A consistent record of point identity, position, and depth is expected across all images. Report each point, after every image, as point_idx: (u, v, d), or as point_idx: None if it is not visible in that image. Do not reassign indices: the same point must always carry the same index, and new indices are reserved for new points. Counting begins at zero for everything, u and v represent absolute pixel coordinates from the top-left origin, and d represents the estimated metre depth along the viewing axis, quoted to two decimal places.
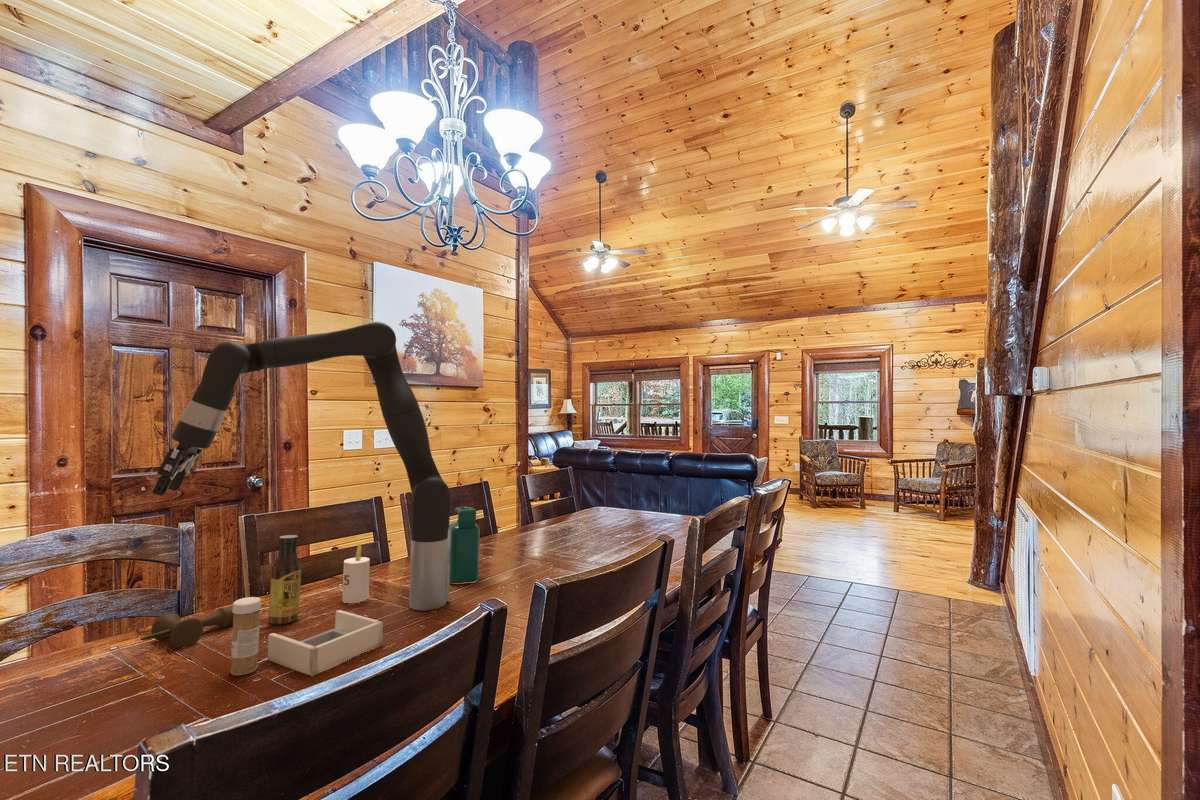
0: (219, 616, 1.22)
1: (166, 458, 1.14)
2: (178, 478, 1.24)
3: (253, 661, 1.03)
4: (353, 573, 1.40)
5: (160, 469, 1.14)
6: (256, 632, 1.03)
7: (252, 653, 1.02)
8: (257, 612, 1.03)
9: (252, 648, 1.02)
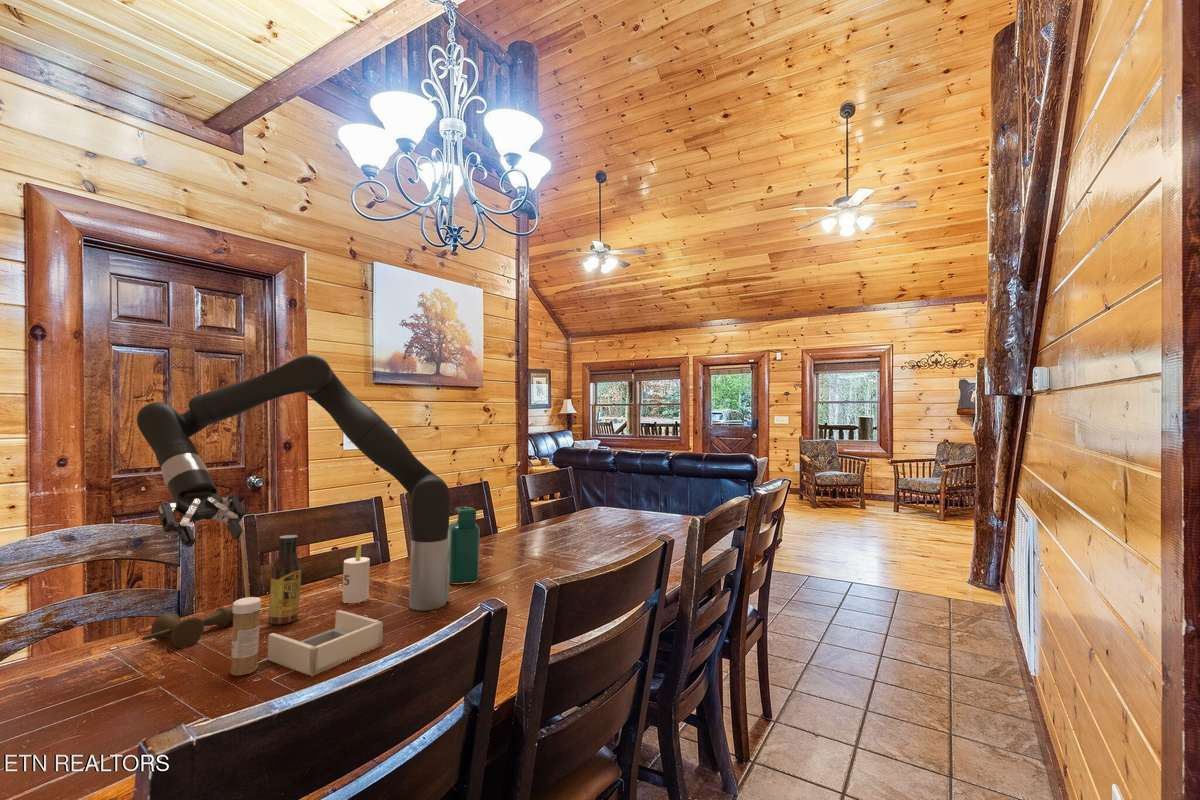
0: (219, 615, 1.22)
1: (160, 517, 1.06)
2: (231, 526, 1.14)
3: (253, 661, 1.03)
4: (353, 573, 1.40)
5: (163, 527, 1.05)
6: (256, 632, 1.03)
7: (252, 653, 1.02)
8: (257, 612, 1.03)
9: (252, 648, 1.02)
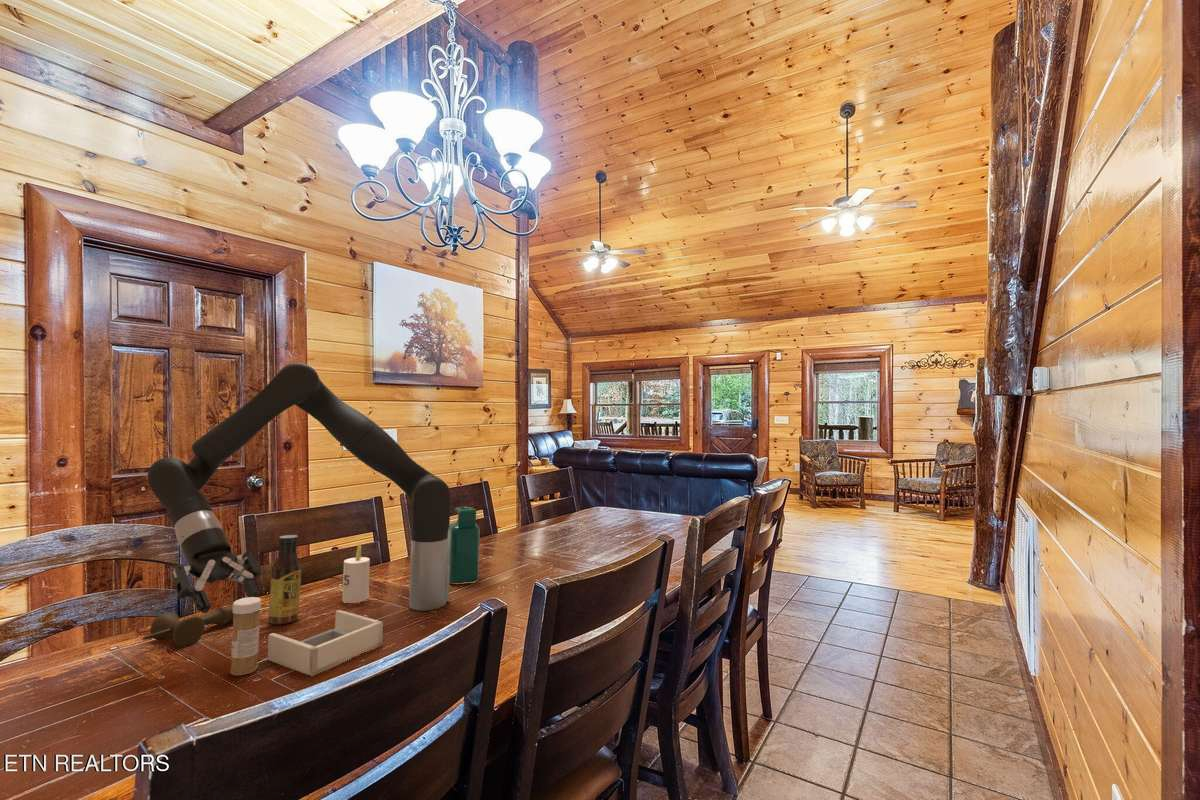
0: (218, 615, 1.23)
1: (174, 582, 1.03)
2: (246, 586, 1.10)
3: (253, 661, 1.03)
4: (353, 573, 1.40)
5: (178, 593, 1.02)
6: (256, 632, 1.03)
7: (252, 653, 1.02)
8: (257, 612, 1.03)
9: (252, 648, 1.02)
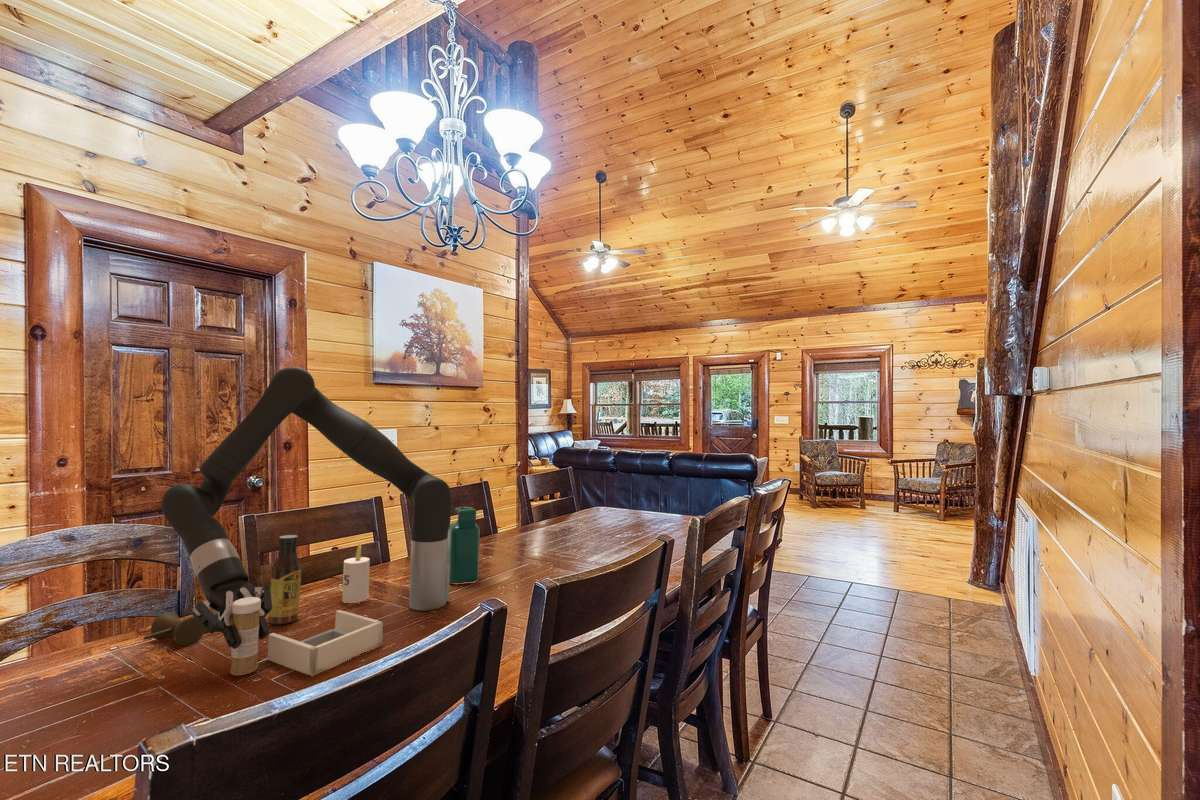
0: None
1: (198, 619, 1.00)
2: None
3: (253, 661, 1.03)
4: (353, 573, 1.40)
5: (207, 629, 1.00)
6: (256, 632, 1.03)
7: (252, 653, 1.02)
8: (257, 612, 1.03)
9: (252, 648, 1.02)
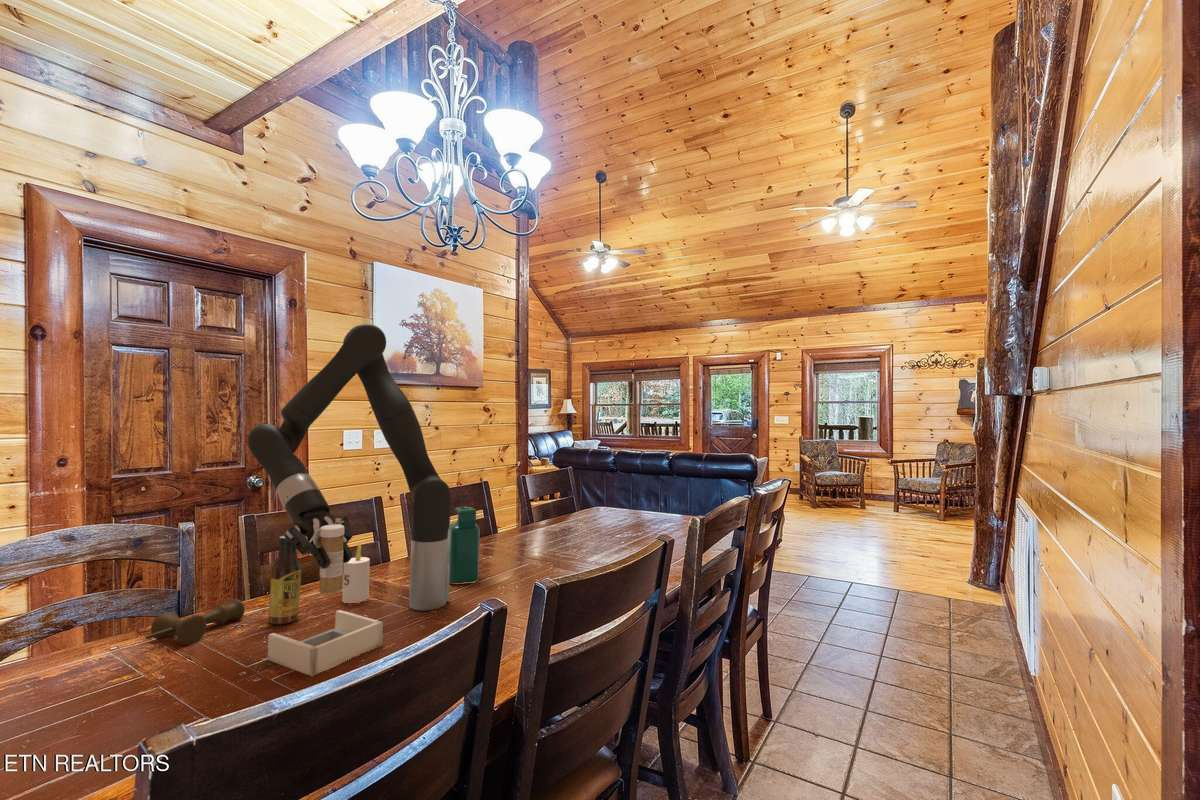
0: (218, 613, 1.23)
1: (291, 542, 1.09)
2: None
3: (339, 581, 1.12)
4: (353, 573, 1.40)
5: (299, 550, 1.09)
6: (341, 555, 1.12)
7: (338, 574, 1.11)
8: (342, 537, 1.12)
9: (338, 569, 1.11)
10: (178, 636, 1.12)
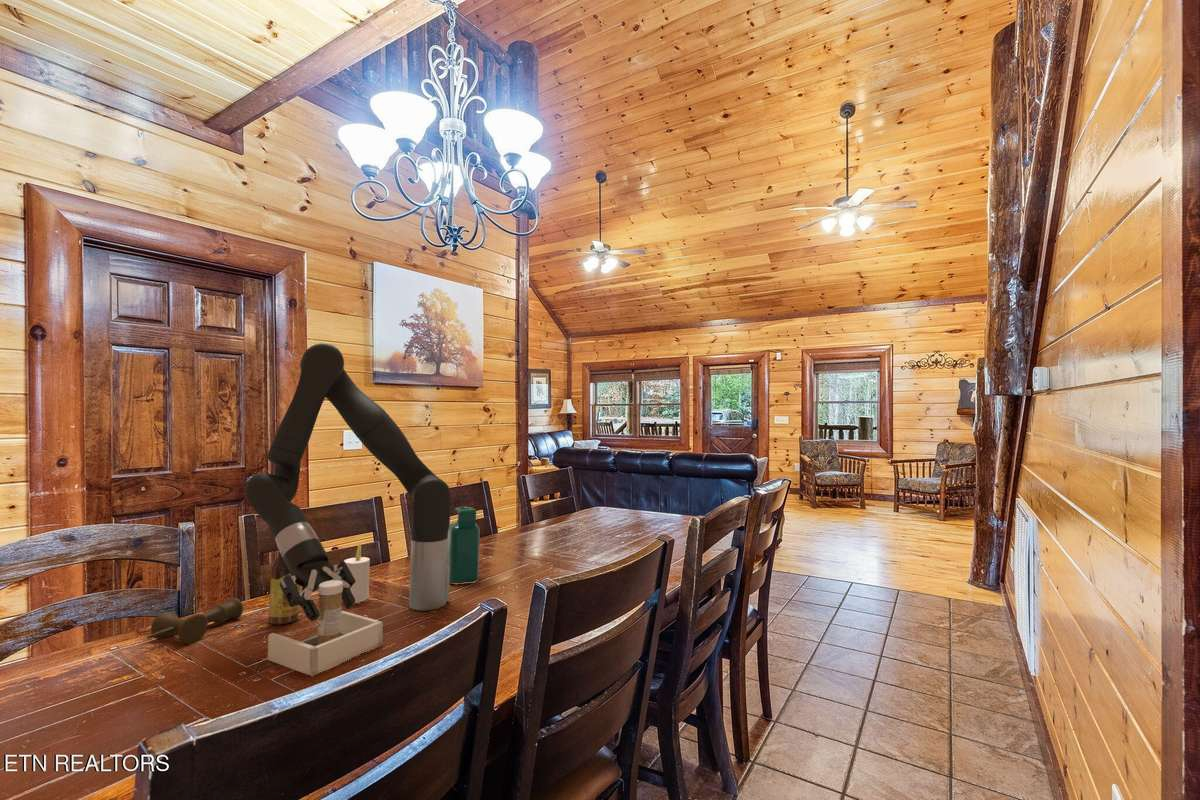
0: (218, 612, 1.24)
1: (283, 591, 1.08)
2: (344, 595, 1.15)
3: None
4: (353, 573, 1.40)
5: (288, 602, 1.07)
6: (339, 612, 1.12)
7: (336, 631, 1.11)
8: (340, 594, 1.12)
9: (336, 627, 1.11)
10: (180, 635, 1.13)
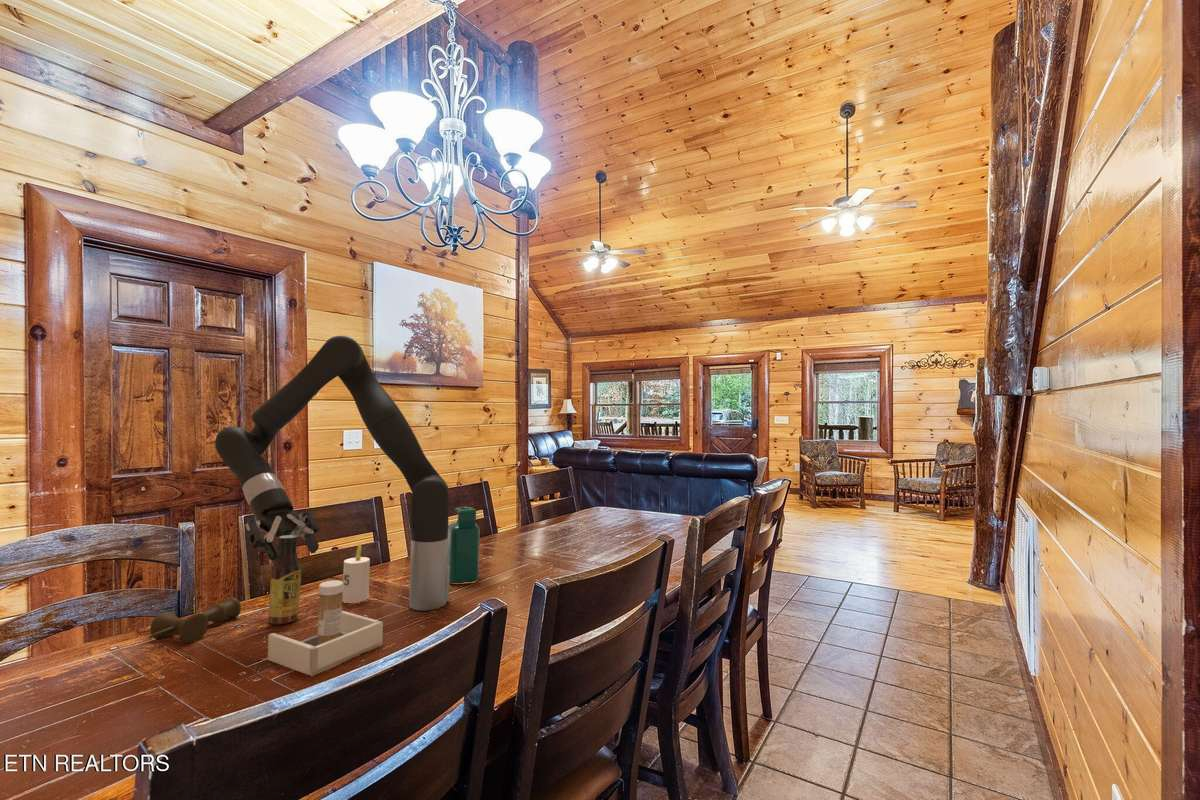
0: (216, 612, 1.24)
1: (247, 534, 1.14)
2: (308, 541, 1.22)
3: None
4: (353, 573, 1.40)
5: (251, 543, 1.13)
6: (340, 612, 1.12)
7: (336, 631, 1.11)
8: (340, 594, 1.12)
9: (336, 627, 1.11)
10: (182, 634, 1.13)
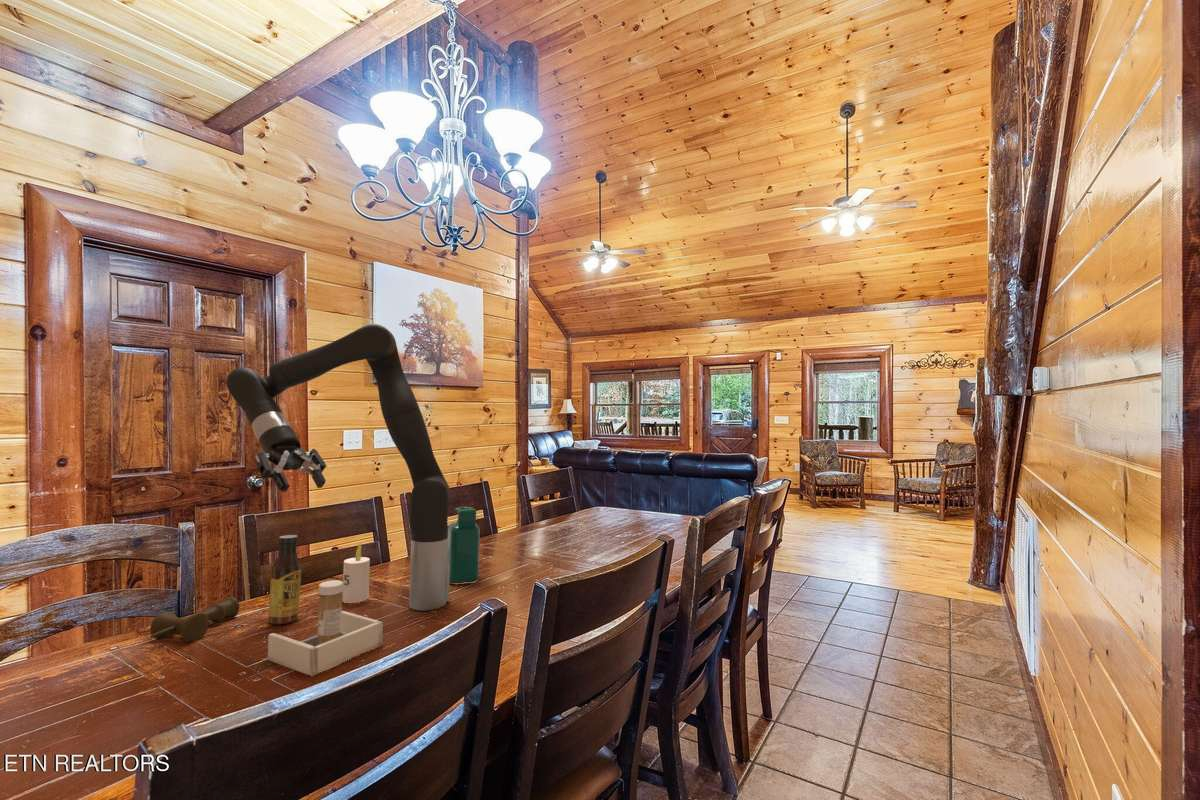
0: (216, 611, 1.25)
1: (257, 465, 1.19)
2: (315, 476, 1.26)
3: None
4: (353, 573, 1.40)
5: (261, 474, 1.18)
6: (339, 612, 1.12)
7: (336, 631, 1.11)
8: (340, 594, 1.12)
9: (336, 627, 1.11)
10: (184, 633, 1.14)
